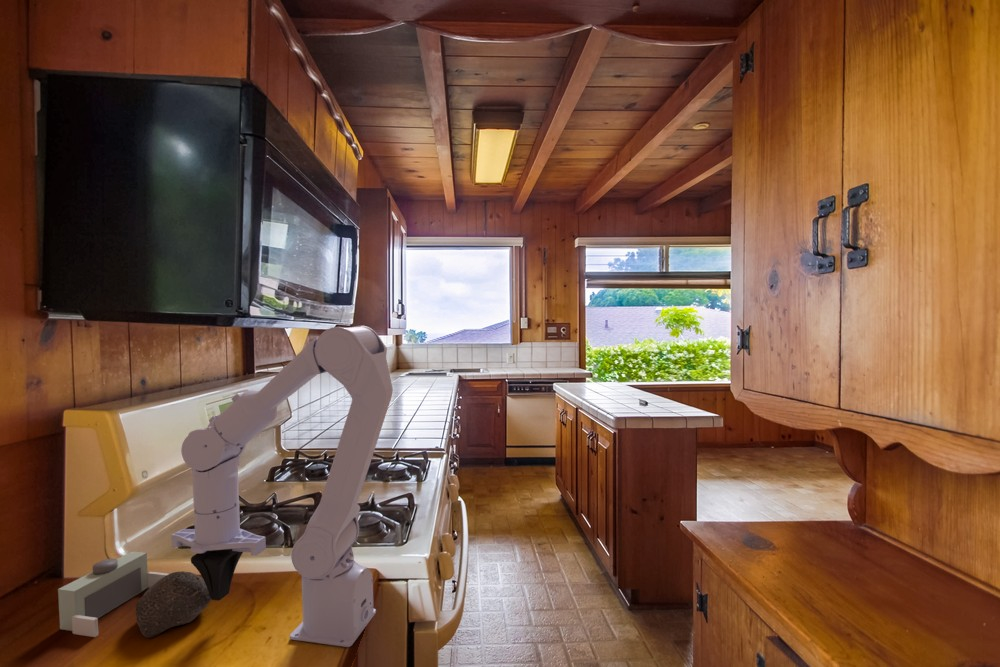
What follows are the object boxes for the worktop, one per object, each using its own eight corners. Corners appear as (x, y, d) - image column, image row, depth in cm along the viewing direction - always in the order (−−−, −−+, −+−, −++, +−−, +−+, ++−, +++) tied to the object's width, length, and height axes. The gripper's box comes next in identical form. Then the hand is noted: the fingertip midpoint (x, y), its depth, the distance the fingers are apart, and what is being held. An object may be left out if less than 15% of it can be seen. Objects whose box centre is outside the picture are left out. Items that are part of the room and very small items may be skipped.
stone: (129, 652, 69) (120, 634, 63) (146, 589, 75) (139, 567, 68) (206, 642, 73) (205, 624, 67) (217, 583, 79) (216, 562, 73)
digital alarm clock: (170, 588, 79) (168, 547, 79) (94, 637, 67) (92, 589, 67) (136, 584, 80) (134, 544, 80) (56, 631, 68) (53, 584, 68)
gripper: (150, 514, 67) (154, 607, 67) (239, 521, 64) (242, 618, 64) (192, 495, 74) (196, 580, 74) (274, 501, 71) (277, 589, 71)
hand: (220, 596), depth 70 cm, fingers closed
